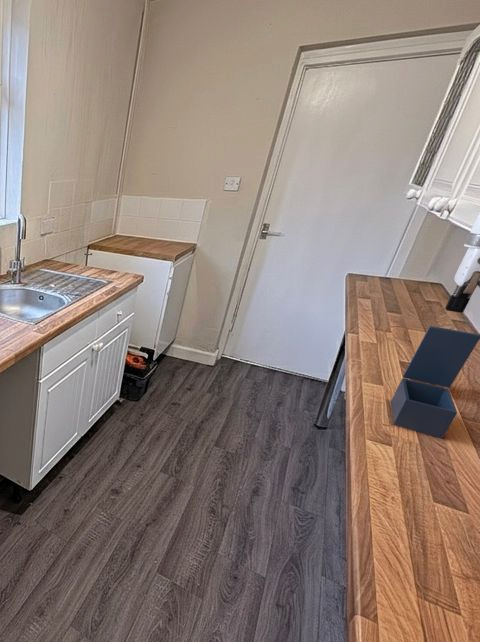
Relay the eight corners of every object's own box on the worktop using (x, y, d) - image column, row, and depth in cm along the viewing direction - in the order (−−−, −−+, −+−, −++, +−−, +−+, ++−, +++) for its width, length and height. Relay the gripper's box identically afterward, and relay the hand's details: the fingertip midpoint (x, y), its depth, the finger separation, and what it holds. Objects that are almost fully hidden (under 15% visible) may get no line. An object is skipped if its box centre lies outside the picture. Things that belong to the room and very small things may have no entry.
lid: (481, 336, 102) (481, 334, 102) (429, 327, 107) (429, 325, 108) (449, 388, 110) (449, 386, 111) (402, 377, 115) (402, 375, 116)
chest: (442, 438, 103) (457, 412, 100) (393, 424, 108) (405, 399, 105) (435, 412, 114) (448, 388, 110) (390, 401, 119) (402, 378, 116)
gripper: (519, 248, 96) (479, 321, 103) (504, 239, 106) (469, 307, 113) (471, 244, 100) (436, 314, 108) (461, 236, 111) (430, 301, 118)
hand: (453, 310), depth 111 cm, fingers closed
